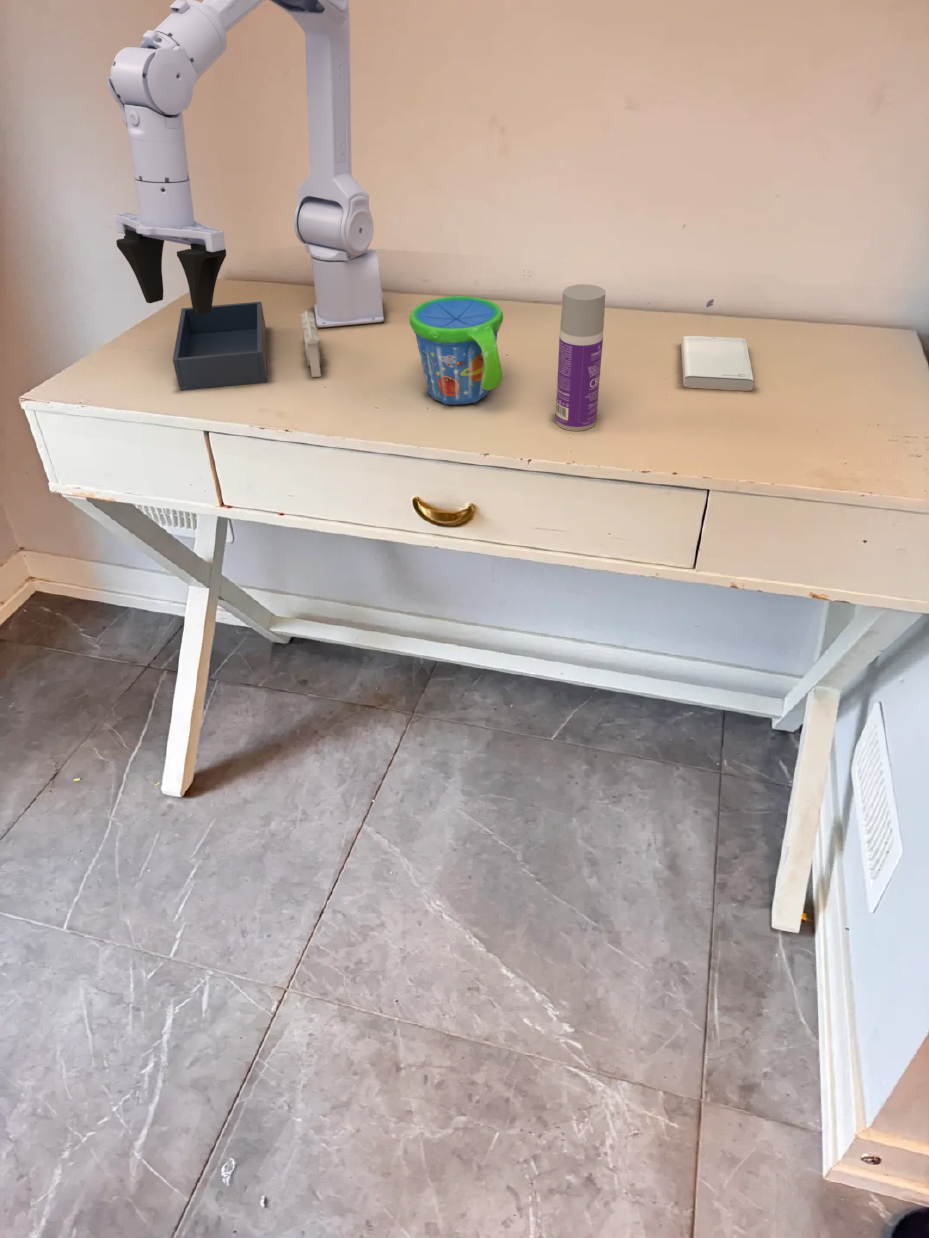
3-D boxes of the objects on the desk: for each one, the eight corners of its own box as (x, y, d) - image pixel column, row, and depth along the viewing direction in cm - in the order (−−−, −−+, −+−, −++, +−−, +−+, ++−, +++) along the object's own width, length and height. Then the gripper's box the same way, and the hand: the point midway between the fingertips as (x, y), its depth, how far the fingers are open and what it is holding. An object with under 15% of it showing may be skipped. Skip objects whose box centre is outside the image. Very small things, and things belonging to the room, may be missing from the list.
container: (594, 432, 101) (604, 301, 91) (552, 429, 102) (559, 298, 92) (597, 413, 104) (608, 284, 95) (557, 410, 105) (564, 282, 96)
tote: (266, 329, 126) (261, 301, 123) (267, 382, 113) (262, 352, 110) (187, 336, 124) (181, 308, 122) (179, 390, 111) (172, 360, 109)
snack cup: (394, 378, 113) (388, 298, 106) (469, 361, 116) (467, 282, 110) (446, 430, 102) (443, 345, 96) (527, 410, 105) (529, 326, 99)
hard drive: (754, 379, 107) (746, 337, 116) (684, 375, 108) (682, 334, 117) (751, 392, 108) (744, 349, 117) (682, 388, 109) (680, 346, 118)
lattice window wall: (303, 342, 122) (297, 299, 118) (316, 340, 122) (310, 297, 119) (310, 379, 113) (303, 334, 109) (324, 378, 113) (318, 332, 110)
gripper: (85, 174, 97) (107, 303, 104) (185, 192, 91) (200, 326, 99) (135, 168, 102) (152, 291, 109) (232, 184, 96) (244, 312, 104)
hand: (178, 307), depth 104 cm, fingers open, 7 cm apart
